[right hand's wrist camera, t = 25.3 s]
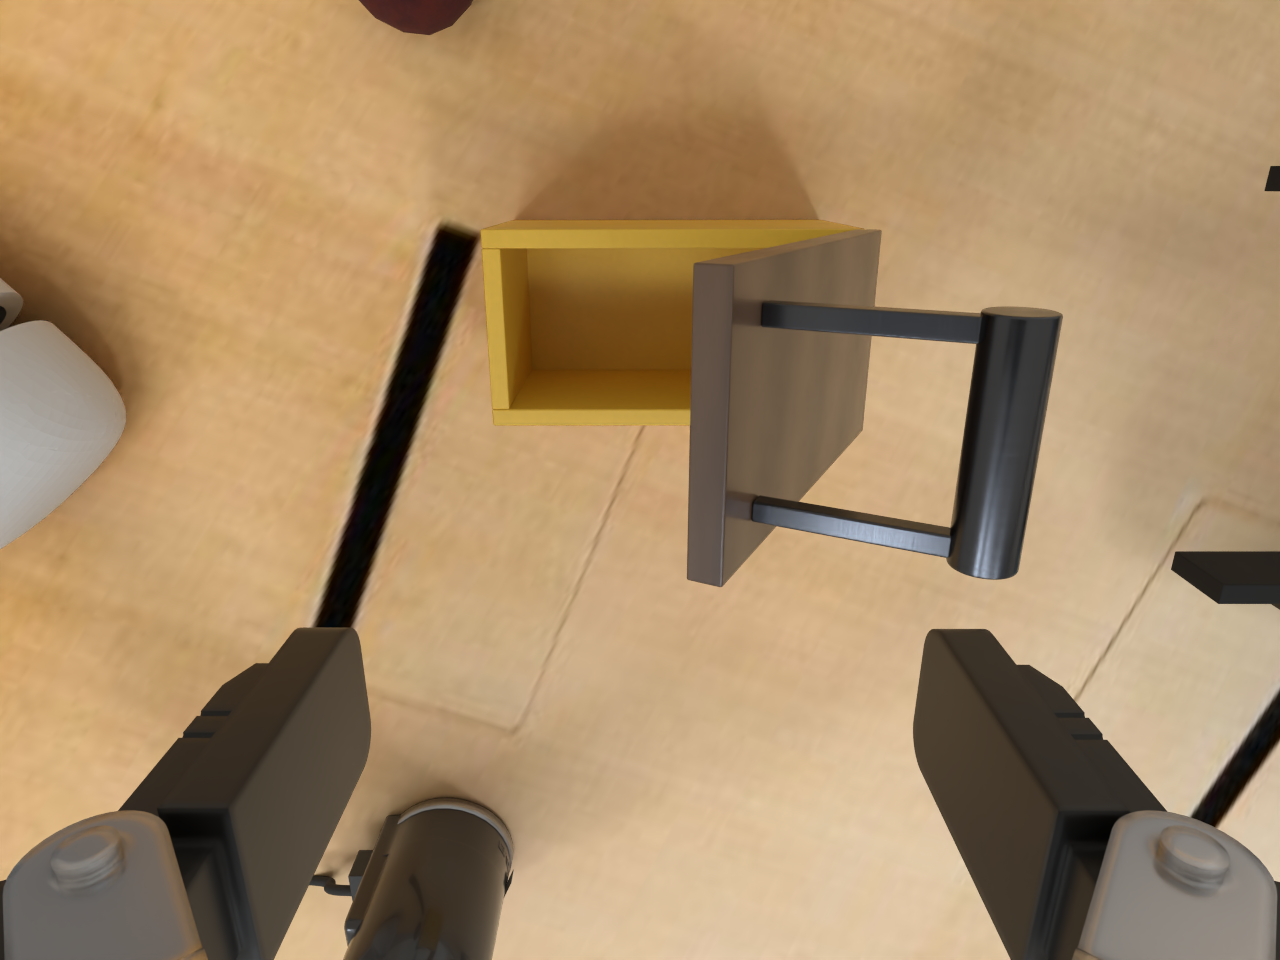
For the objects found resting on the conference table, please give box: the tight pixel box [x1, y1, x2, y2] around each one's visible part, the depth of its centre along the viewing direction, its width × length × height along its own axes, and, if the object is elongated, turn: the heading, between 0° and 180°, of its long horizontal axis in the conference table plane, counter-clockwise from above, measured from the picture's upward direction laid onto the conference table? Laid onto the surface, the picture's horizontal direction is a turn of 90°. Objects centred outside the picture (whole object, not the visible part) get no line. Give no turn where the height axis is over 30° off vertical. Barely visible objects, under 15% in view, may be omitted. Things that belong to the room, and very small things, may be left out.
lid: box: [687, 229, 1063, 587], centre depth 29 cm, size 18×9×9 cm
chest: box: [481, 220, 864, 425], centre depth 43 cm, size 18×9×10 cm, turn 90°
